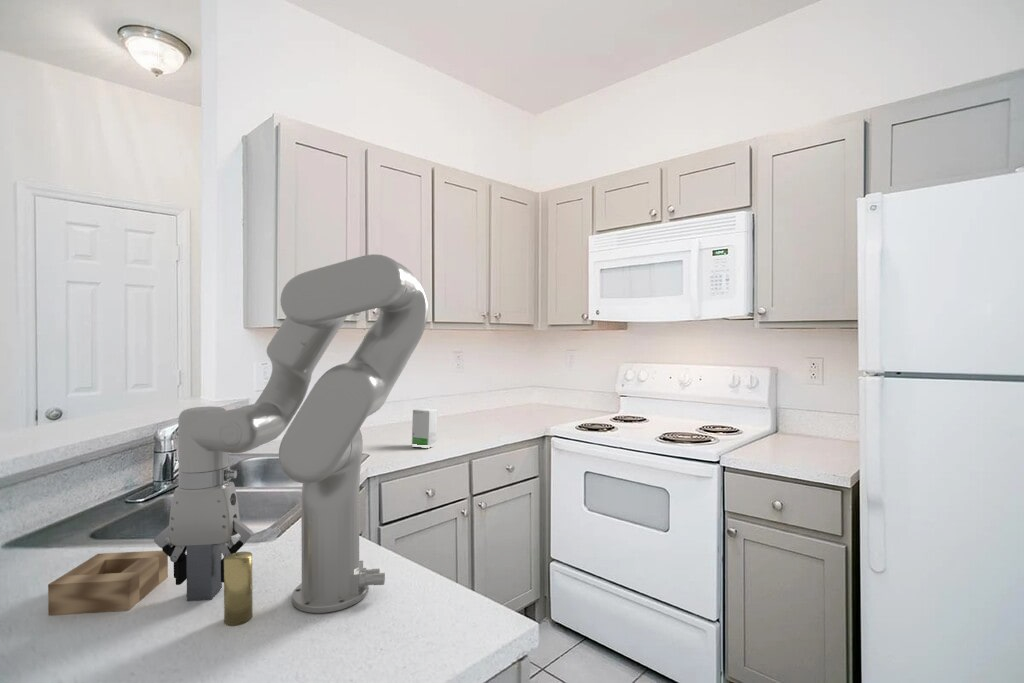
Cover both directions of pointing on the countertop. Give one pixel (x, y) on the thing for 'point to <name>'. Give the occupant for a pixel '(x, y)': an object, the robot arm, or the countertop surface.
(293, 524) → the countertop surface
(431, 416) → the skincare box
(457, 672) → the countertop surface
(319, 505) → the robot arm
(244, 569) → the round bit
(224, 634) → the countertop surface
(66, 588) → the bore block
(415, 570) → the countertop surface
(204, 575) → the square bit
